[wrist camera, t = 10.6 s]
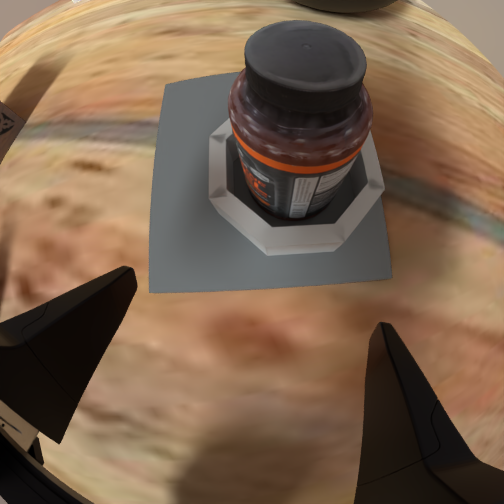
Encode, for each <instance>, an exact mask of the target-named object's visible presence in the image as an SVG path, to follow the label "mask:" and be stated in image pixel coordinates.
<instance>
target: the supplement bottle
mask: <svg viewBox="0 0 504 504" xmlns="http://www.w3.org/2000/svg"><path fill="white" fill-rule="evenodd" d="M244 55H245V65H246V67H245V69H243V70H242V71H241V72H240V74H239V75H238V76H237V78H236V79H235V81H234V83H233V85H232V87H231V89H230V93H229V96H228V112H229V118H230V122H231V126H232V133H233V135H234V139H235V142H236V145H237V150H238V153H239V157H240V160H241V164H242V169H243V172H244V177H245V180H246V183H247V187H248V190H249V192H250V194H251V196H252V198H253V199H254V201H255V202H256V203H257V204H258V206H259V207H260V208H261V209H263V210H264V211H265V212H267V213H268V214H270V215H272V216H274V217H276V218H278V219H282V220H288V221H300V220H306V219H309V218H312V217H314V216H316V215H318V214H319V213H321V212H322V211H323V210H325V209H326V208H327V206H328V205H329V204H330V202H331V201H332V200H333V198H334V197H335V195H336V193H337V191H338V190H339V188H340V186H341V184H342V183H343V181H344V179H345V177H346V175H347V174H348V172H349V170H350V168H351V166H352V165H353V163H354V161H355V159H356V157H357V156H358V154H359V152H360V150H361V148H362V146H363V144H364V142H365V140H366V138H367V137H368V134H369V131H370V129H371V126H372V119H373V107H372V103H371V100H370V97H369V94H368V92H367V90H366V88H365V86H364V85H363V83H362V81H363V78H364V75H365V72H366V67H367V64H366V57H365V55H364V52H363V50H362V49H361V47H360V46H359V45H358V44H357V43H356V42H355V41H354V40H353V39H352V38H351V37H349V36H347V35H346V34H345V33H344V32H342V31H339V30H338V29H336V28H333V27H330V26H328V25H324V24H321V23H316V22H311V21H302V20H292V21H282V22H278V23H274V24H271V25H268V26H265V27H263V28H261V29H260V30H258V31H256V32H255V33H254V34H253V35H251V36H250V38H249V39H248V41H247V43H246V45H245V53H244Z"/></svg>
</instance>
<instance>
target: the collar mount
mask: <svg viewBox="0 0 504 504" xmlns="http://www.w3.org/2000/svg"><path fill="white" fill-rule="evenodd" d="M239 74H240V72H234V73H226V74H219V75H212V76H206V77H200V78H194V79H189V80H184V81H179V82H174V83H170V84H166V85H165V90H164V96H163V101H162V107H161V114H160V120H159V127H158V134H157V142H156V150H155V159H154V169H153V180H152V193H151V209H150V230H149V293H184V292H214V291H237V290H256V289H274V288H289V287H304V286H317V285H330V284H342V283H353V282H364V281H374V280H384V279H390V278H392V269H391V259H390V251H389V243H388V235H387V229H386V222H385V216H384V210H383V204H382V199H381V194H382V192H383V191H384V190H385V186H384V182H383V177H382V173H381V169H380V164H379V160H378V156H377V152H376V149H375V145H374V141H373V138H372V134H371V131H369V134H368V137H367V138H366V140H365V142H364V144H363V146H362V148H361V150H360V152H359V154H358V156H357V157H356V159H355V161H354V163H353V165H352V166H351V168H350V170H349V172H348V174H347V175H346V177H345V179H344V181H343V183H342V184H341V186H340V188H339V190H338V191H337V193H336V195H335V197H334V198H333V200H332V201H331V202H330V204H329V205H328V206H327V208H326V209H325V210H323V211H322V212H321V213H319V214H318V215H316V216H314V217H312V218H309V219H306V220H300V221H288V220H282V219H278V218H276V217H274V216H272V215H270V214H268V213H267V212H265V211H264V210H263V209H261V208H260V207H259V206H258V204H257V203H256V202H255V201H254V199H253V198H252V196H251V194H250V192H249V190H248V187H247V183H246V180H245V177H244V172H243V169H242V164H241V160H240V157H239V153H238V150H237V145H236V142H235V139H234V135H233V133H232V126H231V122H230V118H229V112H228V96H229V93H230V89H231V87H232V85H233V83H234V81H235V79H236V78H237V76H238V75H239Z"/></svg>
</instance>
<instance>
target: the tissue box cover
mask: <svg viewBox="0 0 504 504" xmlns="http://www.w3.org/2000/svg"><path fill="white" fill-rule="evenodd" d="M25 123H26V122H25V121H24V120H23V119H21V118H20V117H19V116H18V115H17V114H15V113H14V112H13V111H12V110H11V109H9V108H8V107H7V106H6V105H4V104H3V103H2V102H1V101H0V164H1V162H2V160H3V158H4V157H5V155H6V153H7V151H8V150H9V148H10V146H11V145H12V143H13V142H14V140H15V138H16V137H17V135H18V134H19V132H20V131H21V129H22V128H23V126H24V125H25Z"/></svg>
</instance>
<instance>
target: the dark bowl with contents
mask: <svg viewBox="0 0 504 504" xmlns="http://www.w3.org/2000/svg"><path fill="white" fill-rule="evenodd" d="M293 1H295V2H297V3H300V4H303V5H306V6H309V7H312V8H316V9H320V10H325V11H332V12H346V13H354V12H365V11H370V10H375V9H379V8H382V7H385V6H387V5H390V4H392V3H394V2H396V1H397V0H293Z"/></svg>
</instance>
